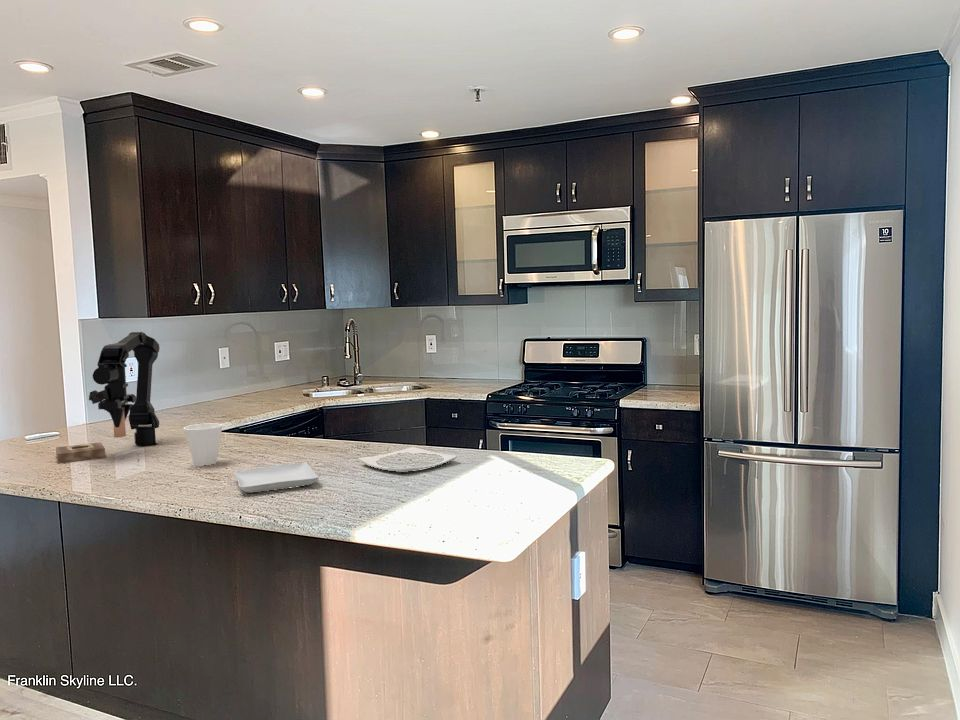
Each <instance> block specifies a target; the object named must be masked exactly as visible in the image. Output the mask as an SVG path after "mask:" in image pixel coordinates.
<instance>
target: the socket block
mask: <svg viewBox="0 0 960 720" xmlns="http://www.w3.org/2000/svg"><path fill="white" fill-rule="evenodd" d="M55 450H56V460H57V464H65V463H73V462H82V461H90V460H96V459H98V460H99V459H105V458H106V448H105V446H104V445H103V443H102V441H101V442H93V443H83V444H75V445H65V446H57V447H55Z"/></svg>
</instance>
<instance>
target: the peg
mask: <svg viewBox="0 0 960 720" xmlns="http://www.w3.org/2000/svg"><path fill="white" fill-rule="evenodd" d="M112 422H113V421H112ZM112 424H113V436H114V438H123V437H126V436H127V433H126V432H127V430H126V420H125V414H124V412H123V415H122V419H121V423H120V426H119V427H115V425H114V422H113V423H112Z"/></svg>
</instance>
